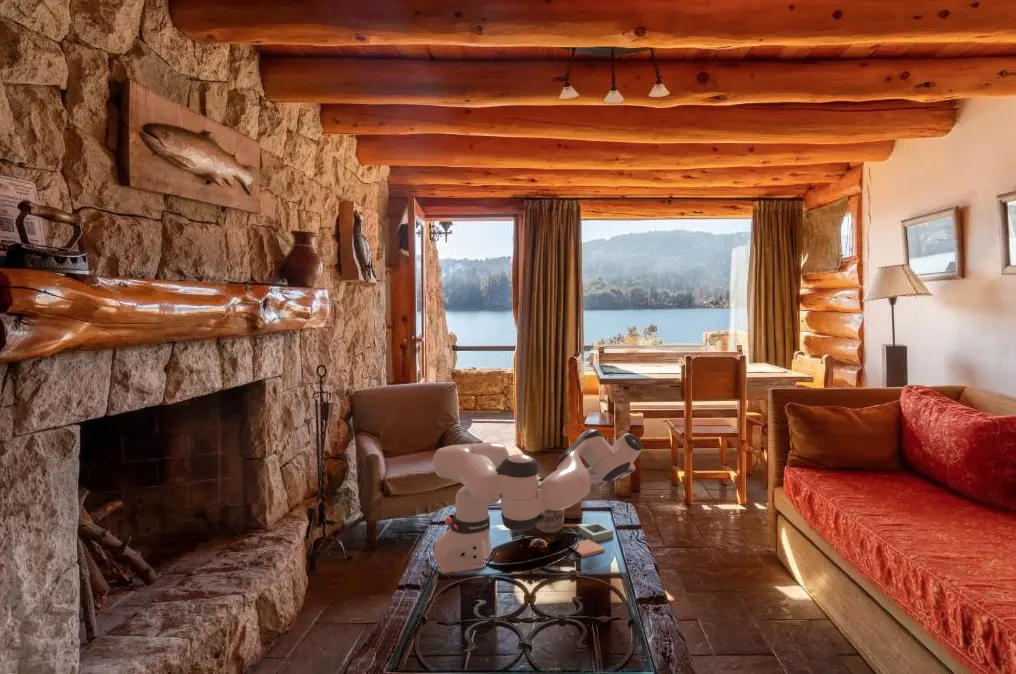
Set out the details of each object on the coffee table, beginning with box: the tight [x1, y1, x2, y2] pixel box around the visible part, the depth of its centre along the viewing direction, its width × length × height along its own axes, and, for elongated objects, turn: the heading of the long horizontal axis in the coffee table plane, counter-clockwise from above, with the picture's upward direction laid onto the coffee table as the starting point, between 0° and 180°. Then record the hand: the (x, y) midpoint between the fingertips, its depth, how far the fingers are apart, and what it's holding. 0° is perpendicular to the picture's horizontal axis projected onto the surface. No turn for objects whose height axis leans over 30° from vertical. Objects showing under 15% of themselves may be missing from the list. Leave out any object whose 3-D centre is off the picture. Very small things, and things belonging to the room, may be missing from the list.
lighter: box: [564, 499, 583, 519], centre depth 241 cm, size 8×3×10 cm, turn 84°
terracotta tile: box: [577, 538, 605, 558], centre depth 212 cm, size 9×9×1 cm
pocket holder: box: [578, 521, 614, 543], centre depth 223 cm, size 9×9×2 cm
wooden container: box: [522, 476, 565, 537], centre depth 222 cm, size 15×15×22 cm
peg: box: [590, 482, 603, 499], centre depth 222 cm, size 4×4×8 cm
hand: (595, 483), depth 222 cm, fingers closed on peg, 4 cm apart
